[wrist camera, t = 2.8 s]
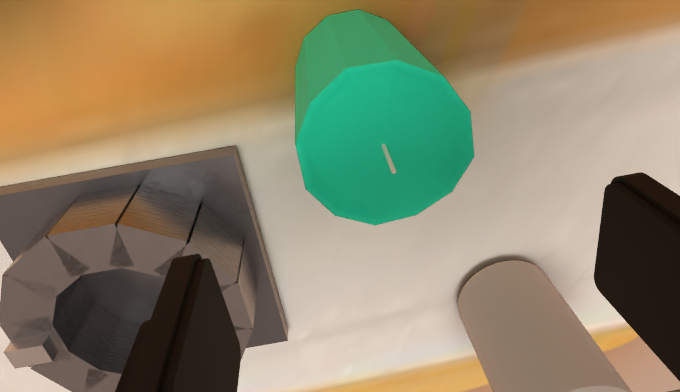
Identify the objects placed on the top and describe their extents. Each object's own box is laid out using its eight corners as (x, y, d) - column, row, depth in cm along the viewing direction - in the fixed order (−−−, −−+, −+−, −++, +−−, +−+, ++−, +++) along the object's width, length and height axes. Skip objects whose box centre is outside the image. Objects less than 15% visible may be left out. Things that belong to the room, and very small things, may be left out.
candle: (417, 13, 24) (512, 79, 13) (401, 126, 27) (468, 253, 16) (297, 4, 23) (298, 67, 13) (293, 121, 26) (292, 250, 16)
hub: (236, 145, 26) (220, 200, 21) (287, 327, 33) (286, 404, 28) (-13, 188, 27) (-91, 255, 21) (90, 362, 33) (51, 445, 28)
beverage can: (445, 271, 32) (517, 436, 22) (538, 240, 32) (659, 395, 21) (464, 335, 35) (536, 506, 25) (550, 308, 35) (660, 472, 24)
